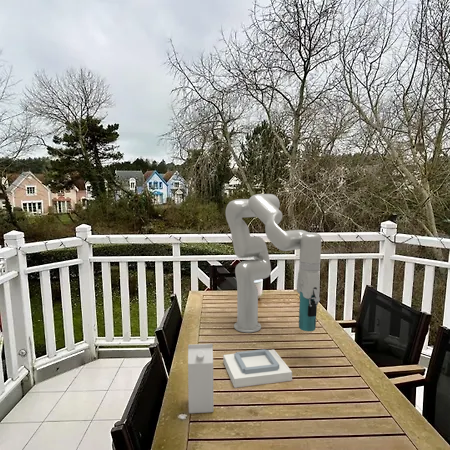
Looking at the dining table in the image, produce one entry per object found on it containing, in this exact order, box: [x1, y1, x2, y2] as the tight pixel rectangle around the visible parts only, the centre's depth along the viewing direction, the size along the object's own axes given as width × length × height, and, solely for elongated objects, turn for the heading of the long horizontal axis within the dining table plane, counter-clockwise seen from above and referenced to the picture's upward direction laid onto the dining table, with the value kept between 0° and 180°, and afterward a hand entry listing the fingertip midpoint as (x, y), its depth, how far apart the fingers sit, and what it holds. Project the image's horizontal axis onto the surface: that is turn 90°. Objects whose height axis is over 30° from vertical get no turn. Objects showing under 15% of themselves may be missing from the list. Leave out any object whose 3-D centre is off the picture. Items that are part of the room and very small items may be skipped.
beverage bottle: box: [298, 292, 318, 332], centre depth 130 cm, size 6×7×20 cm
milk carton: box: [187, 343, 214, 414], centre depth 102 cm, size 7×7×19 cm
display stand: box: [222, 348, 293, 389], centre depth 123 cm, size 17×20×4 cm
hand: (307, 312), depth 131 cm, fingers closed on beverage bottle, 6 cm apart
